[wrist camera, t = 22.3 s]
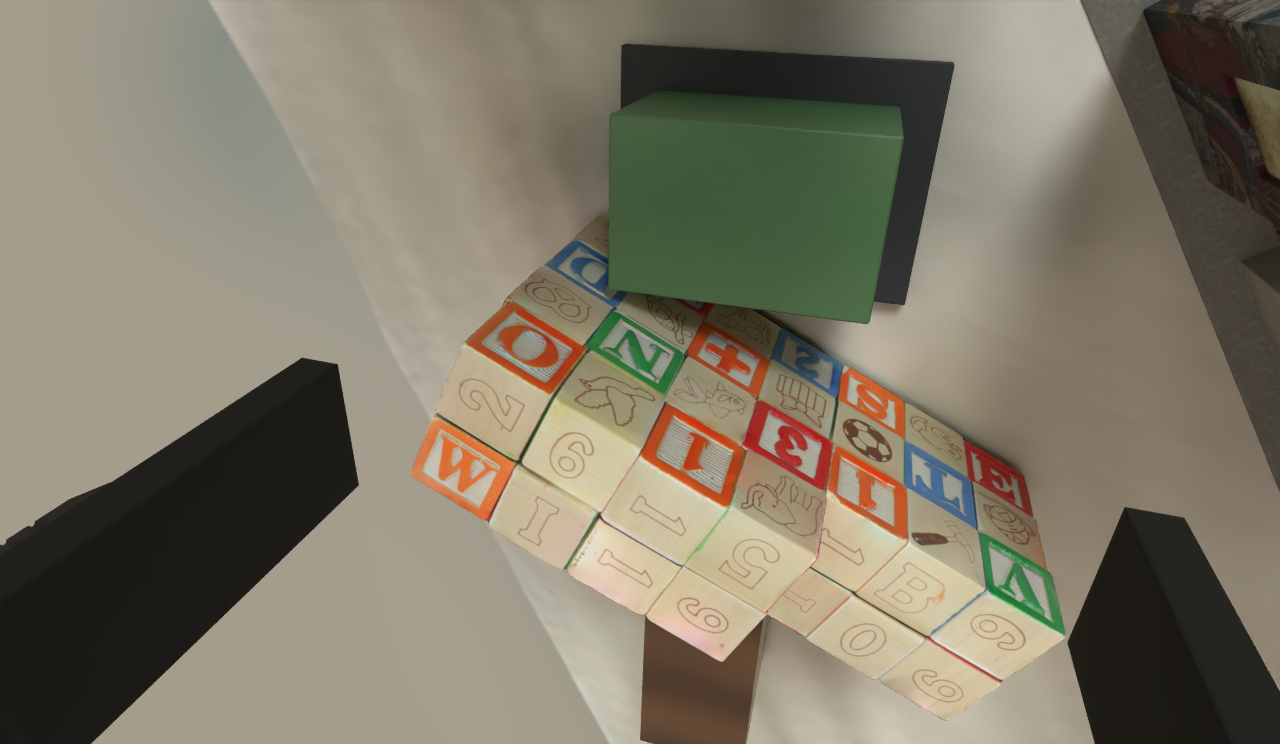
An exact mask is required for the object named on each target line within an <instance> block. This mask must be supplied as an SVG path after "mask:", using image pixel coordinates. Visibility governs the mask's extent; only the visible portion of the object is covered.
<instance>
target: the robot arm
mask: <svg viewBox="0 0 1280 744" xmlns="http://www.w3.org/2000/svg"><path fill="white" fill-rule="evenodd" d="M358 485H359V483H358V477H357V472H356V466H355V461H354V455H353V449H352V443H351V438H350V432H349V427H348V421H347V415H346V409H345V404H344V398H343V392H342V387H341V381H340V375H339V370H338V365H337V364H334V363H328V362H323V361H317V360H311V359H306V358H301V359H299V360H298V361H296V362H295V363H294V364H292V365H290V366H289V367H287V368H286V369H284V370H283V371H281V372H280V373H278V374H277V375H275V376H274V377H272V378H270V379H269V380H268V381H266V382H264V383H263V384H261V385H260V386H258V387H257V388H255V389H254V390H252V391H250V392H249V393H247V394H246V395H244V396H243V397H241V398H240V399H238V400H237V401H235V402H234V403H232V404H231V405H229V406H228V407H226V408H224V409H223V410H221V411H220V412H218V413H217V414H215V415H214V416H212V417H211V418H209V419H208V420H206V421H205V422H203V423H201V424H200V425H199V426H197V427H196V428H194V429H192V430H191V431H189V432H188V433H186V434H185V435H183V436H182V437H180V438H179V439H177V440H175V441H174V442H173V443H171V444H170V445H168V446H166V447H165V448H163V449H162V450H160V451H159V452H157V453H156V454H154V455H153V456H151V457H150V458H148V459H147V460H145V461H143V462H142V463H140V464H139V465H137V466H136V467H134V468H133V469H131V470H130V471H128V472H127V473H125V474H124V475H122V476H121V477H119V478H117V479H116V480H114V481H113V482H111V483H108V484H106V485H103V486H101V487H98V488H96V489H93V490H91V491H88V492H86V493H83V494H81V495H79V496H76V497H74V498H71V499H69V500H68V501H66V502H65V503H63V504H61V505H60V506H58V507H57V508H55V509H54V510H52V511H50V512H49V513H47V514H46V515H44V516H43V517H41V518H40V519H38V520H37V521H35V524H34V526H33V527H30V526H27V527H26V528H24V529H22V530H21V531H19V532H18V533H16V534H15V535H13V536H12V537H10V538H8V539H7V540H6V544H5V545H0V744H91V743H92V742H93V741H94V740H95V739H96V738H97V737H98V736H99V735H101V734H102V733H103V732H104V731H105V729H107V728H108V727H109V726H110V725H111V724H112V723H113V722H114V721H115V720H116V719H117V718H118V717H119V716H120V715H121V714H122V713H123V712H124V711H125V710H126V709H127V708H128V707H130V706H131V705H132V704H133V703H134V702H135V701H136V700H137V699H138V698H139V697H140V696H141V695H142V694H143V693H144V692H145V691H146V690H147V689H148V688H149V687H150V686H151V685H152V684H153V683H154V682H155V681H156V680H157V679H159V678H160V677H161V676H162V675H163V674H164V673H165V672H166V671H167V670H168V669H169V668H170V667H171V666H172V665H173V664H174V663H175V662H176V661H177V660H178V659H179V658H180V657H181V656H182V655H183V654H184V653H185V652H187V650H189V648H191V647H192V646H193V645H194V644H195V643H196V642H197V641H198V640H199V639H200V638H201V637H202V636H203V635H204V634H205V633H206V632H207V631H208V630H209V629H210V628H211V627H212V626H213V625H214V624H215V623H217V622H218V621H219V620H220V619H221V618H222V617H223V616H224V615H225V614H226V613H227V612H228V611H229V610H230V609H231V608H232V607H233V606H234V605H235V604H236V603H237V602H238V601H239V600H240V599H241V598H242V597H244V595H246V594H247V593H248V592H249V591H250V590H251V589H252V588H253V587H254V586H255V585H256V584H257V583H258V582H259V581H260V580H261V579H262V578H263V577H264V576H265V575H266V574H267V573H268V572H269V571H270V570H271V569H273V568H274V566H276V564H278V563H279V562H280V561H281V560H282V559H283V558H284V557H285V556H286V555H287V554H288V553H289V552H290V551H291V550H292V549H293V548H294V547H295V546H296V545H297V544H298V543H299V542H300V541H302V540H303V539H304V538H305V537H306V536H307V535H308V534H309V533H310V532H311V531H312V530H313V529H314V528H315V527H316V526H317V525H318V524H319V523H320V522H321V521H322V520H323V519H324V518H325V517H326V516H327V515H328V514H329V513H331V511H333V509H335V508H336V507H337V506H338V505H339V504H340V503H341V502H342V501H343V500H344V499H345V498H346V497H347V496H348V495H349V494H350V493H351V492H352V491H353V490H354V489H355V488H356V487H357V486H358ZM1068 646H1069V650H1070V654H1071V657H1072V661H1073V665H1074V669H1075V672H1076V676H1077V680H1078V683H1079V687H1080V691H1081V694H1082V698H1083V702H1084V705H1085V709H1086V713H1087V716H1088V720H1089V724H1090V728H1091V731H1092V735H1093V739H1094V742H1095V744H1280V691H1279V689H1278V688H1277V686H1276V684H1275V682H1274V680H1273V678H1272V677H1271V675H1270V673H1269V671H1268V669H1267V668H1266V666H1265V664H1264V662H1263V660H1262V658H1261V657H1260V655H1259V653H1258V651H1257V649H1256V647H1255V646H1254V644H1253V642H1252V640H1251V638H1250V637H1249V635H1248V633H1247V631H1246V629H1245V627H1244V626H1243V624H1242V622H1241V620H1240V618H1239V617H1238V615H1237V613H1236V611H1235V609H1234V607H1233V606H1232V604H1231V602H1230V600H1229V598H1228V596H1227V595H1226V593H1225V591H1224V589H1223V587H1222V586H1221V584H1220V582H1219V580H1218V578H1217V576H1216V575H1215V573H1214V571H1213V569H1212V567H1211V566H1210V564H1209V562H1208V560H1207V558H1206V556H1205V555H1204V553H1203V551H1202V549H1201V547H1200V545H1199V544H1198V542H1197V540H1196V538H1195V536H1194V535H1193V533H1192V531H1191V529H1190V527H1189V525H1188V524H1187V522H1186V520H1185V518H1182V517H1176V516H1171V515H1165V514H1160V513H1154V512H1149V511H1143V510H1138V509H1132V508H1127V507H1125V508H1124V510H1123V513H1122V515H1121V517H1120V520H1119V522H1118V524H1117V527H1116V529H1115V532H1114V534H1113V536H1112V539H1111V541H1110V543H1109V546H1108V548H1107V550H1106V553H1105V555H1104V558H1103V560H1102V562H1101V565H1100V567H1099V569H1098V572H1097V574H1096V576H1095V579H1094V581H1093V584H1092V586H1091V588H1090V591H1089V593H1088V595H1087V598H1086V600H1085V602H1084V605H1083V607H1082V609H1081V612H1080V614H1079V617H1078V619H1077V621H1076V624H1075V626H1074V628H1073V631H1072V633H1071V635H1070V638H1069V640H1068Z"/></svg>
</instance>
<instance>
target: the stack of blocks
mask: <svg viewBox="0 0 1280 744" xmlns="http://www.w3.org/2000/svg"><path fill="white" fill-rule="evenodd" d="M608 261H609V219H608V218H606V217H604V216H601V215H600V216H598V217H597V218H596V219H594V220H593V221H592V222H591V223H590V224H589V225H588V226H587V227H586V228H585V229H584V230H583V231H582V232H581V233H579V234H578V235H577V237H576V238H575V239H574V241H572V242H571V243H570V244H568V245H567V246H566V247H565V248H564V249H563V250H561V251H560V252H559V253H558V254H557V255H556V256H555V257H554V258H552V259H551V260H550V261H549V262H548V263H546V264H545V266H544V267H540V268H539V269H538V270H536V271H535V272H534V273H533V274H531V275H530V276H529V278H528V279H527V280H525V281H524V282H523V283H522V284H521V285H520V286H519V287H517V288H516V289H515V290H514V291H513V292H512V293H511V294H510V295H509V296H508V297H507V298H506V299H505V301H504V303H503V306H502V308H501V309H500V310H499V311H498V312H497V313H496V314H494V315H493V316H492V317H491V318H490V319H489V320H488V321H487V322H486V323H485V324H483V325H482V326H481V327H480V328H479V329H478V330H477V331H476V332H475V333H474V334H473V335H471V336H470V337H469V338H468V339H467V340H466V341H465V342H464V344H463V345H462V347H461V350H460V352H459V355H458V357H457V360H456V362H455V365H454V367H453V369H452V372H451V374H450V376H449V379H448V381H447V383H446V386H445V388H444V390H443V392H442V395H441V397H440V399H439V402H438V404H437V406H436V409H435V411H436V412H437V414H436V415H435V416H434V417H433V419H432V421H431V423H430V425H429V427H428V429H427V432H426V435H425V437H424V439H423V442H422V444H421V447H420V449H419V452H418V454H417V457H416V459H415V462H414V464H413V467H412V470H411V476H412V477H413V478H414V479H416V480H418V481H419V482H421V483H423V484H424V485H426V486H428V487H429V488H431V489H433V490H434V491H436V492H438V493H440V494H441V495H443V496H445V497H446V498H448V499H450V500H451V501H453V502H454V503H456V504H457V505H459V506H460V507H462V508H464V509H466V510H468V511H469V512H471V513H472V514H474V515H476V516H478V517H479V518H480V519H482V520H486V521H488V523H489V524H488V526H489V528H490V529H491V530H492V531H494V532H496V533H498V534H499V535H501V536H503V537H504V538H506V539H507V540H509V541H511V542H512V543H514V544H516V545H518V546H519V547H521V548H523V549H524V550H526V551H528V552H530V553H531V554H533V555H535V556H536V557H538V558H540V559H541V560H543V561H545V562H547V563H548V564H550V565H552V566H554V567H555V568H557V569H560V570H564V569H567V570H568V572H569V574H570V575H571V576H572V577H574V578H575V579H577V580H579V581H580V582H582V583H584V584H585V585H587V586H589V587H591V588H593V589H595V590H596V591H598V592H600V593H601V594H603V595H604V596H606V597H608V598H610V599H612V600H614V601H615V602H617V603H619V604H621V605H622V606H624V607H626V608H627V609H629V610H631V611H632V612H634V613H636V614H639V615H646V617H647V618H648V619H649V620H650V621H651V622H653V623H655V624H656V625H658V626H660V627H662V628H663V629H665V630H667V631H668V632H670V633H672V634H674V635H675V636H677V637H679V638H680V639H682V640H684V641H686V642H687V643H689V644H691V645H692V646H694V647H696V648H698V649H700V650H701V651H703V652H705V653H706V654H708V655H710V656H711V657H713V658H715V659H716V660H718V661H721V662H723V661H724V660H725V659H726V658H727V657H728V656H729V654H730V653H731V652H732V651H733V650H734V649H735V648H736V647H737V646H738V645H739V644H740V643H741V641H742V640H743V639H744V638H745V637H746V636H747V635H748V634H749V633H750V632H751V631H752V630H753V629H754V628H755V626H756V625H757V624H758V623H759V622H760V621H761V620H762V619H763V618H764V617H765V616H766V615H769V616H770V617H772V618H774V619H775V620H777V621H779V622H780V623H782V624H784V625H785V626H787V627H789V628H790V629H792V630H794V631H796V632H797V633H799V634H801V635H803V636H805V638H806V639H807V640H808V641H809V642H811V643H813V644H814V645H816V646H818V647H819V648H821V649H823V650H824V651H826V652H828V653H829V654H831V655H833V656H834V657H836V658H838V659H839V660H841V661H843V662H844V663H846V664H848V665H849V666H851V667H852V668H854V669H856V670H857V671H859V672H861V673H862V674H864V675H866V676H867V677H869V678H871V679H874V680H879V681H880V682H881V683H882V684H884V685H885V686H887V687H889V688H890V689H892V690H894V691H895V692H897V693H899V694H900V695H902V696H904V697H906V698H908V699H909V700H911V701H912V702H913V703H915V704H916V705H918V706H920V707H922V708H924V709H926V710H927V711H929V712H930V713H932V714H934V715H935V716H937V717H939V718H940V719H942V720H945V721H948V720H950V719H951V718H953V717H954V716H956V715H957V714H959V713H960V712H962V711H963V710H964V709H966V708H967V707H969V706H970V705H972V704H973V703H975V702H976V701H977V700H979V699H981V698H982V697H984V696H985V695H987V694H988V693H990V692H991V691H993V690H994V689H996V688H997V687H998V686H1000V685H1001V682H1002V680H1003V679H1006V678H1008V677H1010V676H1011V675H1013V674H1014V673H1016V672H1017V671H1019V670H1020V669H1021V668H1023V667H1024V666H1026V665H1027V664H1029V663H1030V662H1032V661H1033V660H1034V659H1036V658H1037V657H1038V656H1040V655H1041V654H1043V653H1045V652H1046V651H1047V650H1049V649H1050V648H1051V647H1053V646H1054V645H1056V644H1057V643H1059V642H1060V641H1062V640H1063V639H1064V638H1066V634H1065V628H1064V624H1063V620H1062V616H1061V611H1060V607H1059V602H1058V598H1057V594H1056V591H1055V586H1054V583H1053V578H1052V576H1051V574H1050V572H1048V571H1047V569H1046V562H1045V557H1044V553H1043V549H1042V545H1041V540H1040V536H1039V532H1038V526H1037V523H1036V520H1034V519H1033V513H1032V507H1031V502H1030V497H1029V493H1028V489H1027V485H1026V482H1025V478H1024V475H1023V474H1021V473H1020V472H1018V471H1016V470H1015V469H1013V468H1011V467H1009V466H1008V465H1006V464H1004V463H1003V462H1001V461H999V460H997V459H996V458H994V457H992V456H991V455H989V454H987V453H986V452H984V451H982V450H981V449H979V448H977V447H975V446H973V445H972V444H971V443H969V442H967V441H964V440H963V438H962V436H961V435H960V434H958V433H956V432H955V431H953V430H951V429H950V428H948V427H946V426H945V425H943V424H942V423H940V422H938V421H937V420H935V419H933V418H932V417H930V416H928V415H927V414H925V413H923V412H922V411H920V410H919V409H917V408H915V407H914V406H912V405H910V404H908V403H905V402H903V401H902V400H901V399H900V398H899V397H897V396H896V395H894V394H893V393H891V392H889V391H888V390H886V389H885V388H883V387H881V386H880V385H878V384H877V383H875V382H873V381H872V380H870V379H869V378H867V377H865V376H864V375H862V374H860V373H859V372H857V371H855V370H854V369H852V368H851V367H849V366H847V365H841V364H840V363H839V362H838V361H836V360H834V359H833V358H831V357H830V356H828V355H826V354H824V353H823V352H821V351H819V350H818V349H816V348H815V347H813V346H811V345H810V344H808V343H806V342H805V341H803V340H801V339H800V338H798V337H797V336H795V335H793V334H792V333H790V332H789V331H787V330H785V329H781V328H780V327H779V326H777V325H776V324H774V323H773V322H771V321H770V320H768V319H766V318H765V317H763V316H761V315H760V314H758V313H757V312H755V311H753V310H752V309H750V308H744V307H737V306H729V305H722V304H715V303H707V302H700V301H693V300H685V299H678V298H670V297H663V296H656V295H648V294H641V293H633V292H626V291H619V290H611V289H609V288H608Z"/></svg>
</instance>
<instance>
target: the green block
mask: <svg viewBox="0 0 1280 744" xmlns="http://www.w3.org/2000/svg"><path fill="white" fill-rule="evenodd" d="M903 141H904V137H903V128H902V118H901V109H900V107H897V106H882V105H868V104H854V103H839V102H825V101H811V100H796V99H782V98H768V97H753V96H739V95H725V94H711V93H696V92H682V91H668V90H658V91H656V92H654V93H652V94H650V95H648V96H646V97H644V98H642V99H640V100H638V101H636V102H634V103H632V104H630V105H628V106H626V107H624V108H622V109H620V110H618V111H616V112H614V113H612V114H610V145H609V261H608V288H609V289H611V290H619V291H626V292H633V293H641V294H648V295H656V296H663V297H670V298H678V299H685V300H693V301H700V302H707V303H715V304H722V305H729V306H737V307H744V308H752V309H759V310H766V311H774V312H781V313H788V314H796V315H803V316H811V317H818V318H825V319H833V320H840V321H847V322H855V323H862V324H868V323H869V322H870V317H871V312H872V307H873V301H874V296H875V290H876V285H877V280H878V274H879V269H880V264H881V258H882V253H883V248H884V242H885V237H886V232H887V226H888V221H889V216H890V210H891V205H892V200H893V194H894V189H895V184H896V178H897V173H898V168H899V162H900V157H901V151H902V146H903Z"/></svg>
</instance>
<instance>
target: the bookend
mask: <svg viewBox="0 0 1280 744" xmlns="http://www.w3.org/2000/svg"><path fill="white" fill-rule="evenodd" d="M1082 2H1083V4H1084V6H1085V9H1086V11H1087V14H1088V16H1089V19H1090V21H1091V24H1092V26H1093V29H1094V31H1095V34H1096V36H1097V39H1098V41H1099V43H1100V46H1101V48H1102V51H1103V53H1104V56H1105V58H1106V61H1107V63H1108V66H1109V68H1110V71H1111V73H1112V76H1113V78H1114V81H1115V83H1116V86H1117V88H1118V91H1119V93H1120V96H1121V98H1122V101H1123V103H1124V106H1125V108H1126V111H1127V113H1128V116H1129V118H1130V121H1131V123H1132V125H1133V128H1134V130H1135V133H1136V135H1137V138H1138V140H1139V143H1140V145H1141V148H1142V150H1143V153H1144V155H1145V158H1146V160H1147V163H1148V165H1149V168H1150V170H1151V173H1152V175H1153V178H1154V180H1155V183H1156V185H1157V188H1158V190H1159V193H1160V195H1161V198H1162V200H1163V202H1164V205H1165V207H1166V210H1167V212H1168V215H1169V217H1170V220H1171V222H1172V225H1173V227H1174V230H1175V232H1176V235H1177V237H1178V240H1179V242H1180V245H1181V247H1182V250H1183V252H1184V255H1185V257H1186V260H1187V262H1188V265H1189V267H1190V270H1191V272H1192V275H1193V277H1194V280H1195V282H1196V284H1197V287H1198V289H1199V292H1200V294H1201V297H1202V299H1203V302H1204V304H1205V307H1206V309H1207V312H1208V314H1209V317H1210V319H1211V322H1212V324H1213V327H1214V329H1215V332H1216V334H1217V337H1218V339H1219V342H1220V344H1221V347H1222V349H1223V352H1224V354H1225V357H1226V359H1227V362H1228V364H1229V366H1230V369H1231V371H1232V374H1233V376H1234V379H1235V381H1236V384H1237V386H1238V389H1239V391H1240V394H1241V396H1242V399H1243V401H1244V404H1245V406H1246V409H1247V411H1248V414H1249V416H1250V419H1251V421H1252V424H1253V426H1254V429H1255V431H1256V434H1257V436H1258V439H1259V441H1260V444H1261V446H1262V448H1263V451H1264V453H1265V456H1266V458H1267V461H1268V463H1269V466H1270V468H1271V471H1272V473H1273V476H1274V478H1275V481H1276V483H1277V486H1278V488H1279V491H1280V0H1082Z"/></svg>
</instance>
